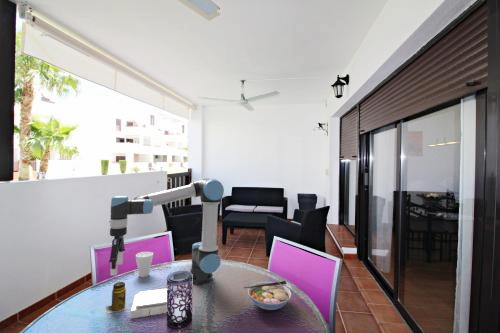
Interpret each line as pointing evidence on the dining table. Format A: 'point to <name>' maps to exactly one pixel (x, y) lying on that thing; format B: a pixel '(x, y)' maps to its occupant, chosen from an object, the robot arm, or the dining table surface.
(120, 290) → the condiment
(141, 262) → the cup
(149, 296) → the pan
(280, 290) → the ramen bowl
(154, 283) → the dining table surface
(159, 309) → the base
